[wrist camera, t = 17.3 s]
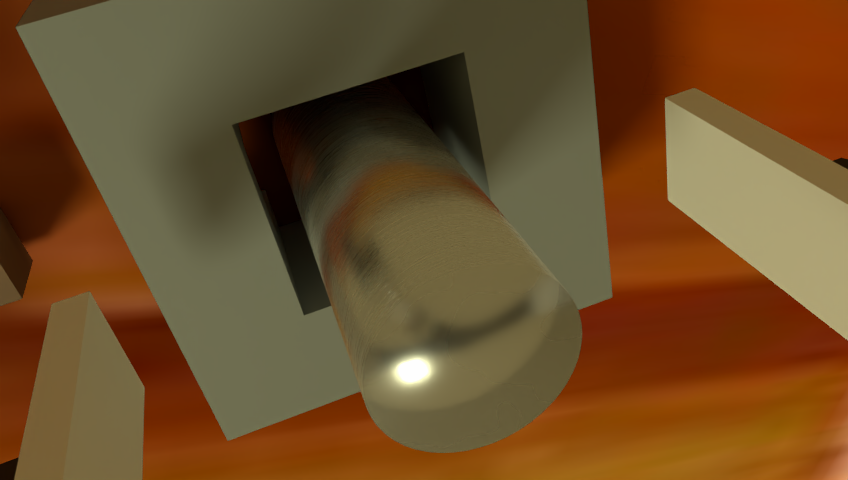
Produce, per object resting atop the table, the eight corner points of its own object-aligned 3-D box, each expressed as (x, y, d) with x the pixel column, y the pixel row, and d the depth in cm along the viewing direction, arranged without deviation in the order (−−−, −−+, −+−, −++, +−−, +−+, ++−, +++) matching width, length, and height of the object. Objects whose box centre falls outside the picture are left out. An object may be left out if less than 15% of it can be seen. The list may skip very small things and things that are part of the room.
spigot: (253, 79, 22) (334, 316, 12) (385, 39, 22) (570, 231, 12) (294, 198, 24) (392, 482, 14) (414, 158, 24) (591, 404, 14)
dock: (47, -22, 19) (15, 27, 15) (491, -145, 20) (575, -132, 16) (216, 336, 25) (227, 441, 21) (542, 221, 27) (612, 297, 23)
